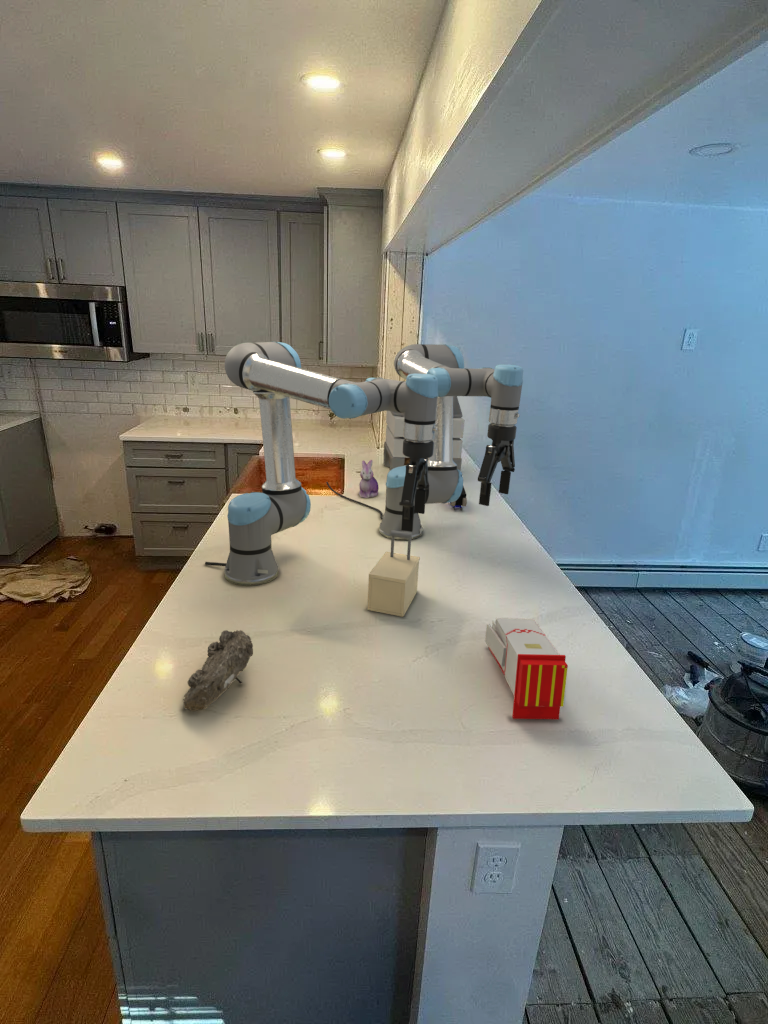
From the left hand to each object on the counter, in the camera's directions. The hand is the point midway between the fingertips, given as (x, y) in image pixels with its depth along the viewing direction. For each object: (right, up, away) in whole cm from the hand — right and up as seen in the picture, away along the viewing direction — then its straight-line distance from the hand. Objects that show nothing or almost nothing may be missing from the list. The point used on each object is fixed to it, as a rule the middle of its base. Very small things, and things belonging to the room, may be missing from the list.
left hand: (413, 521), depth 145 cm
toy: (+22, -34, -21) cm, 45 cm away
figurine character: (+22, +5, +86) cm, 89 cm away
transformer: (+10, +21, +130) cm, 132 cm away
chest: (-5, -22, +9) cm, 24 cm away
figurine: (-14, +10, +95) cm, 96 cm away
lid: (-5, -13, +6) cm, 15 cm away
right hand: (+24, +6, +15) cm, 29 cm away
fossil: (-41, -33, -27) cm, 59 cm away
